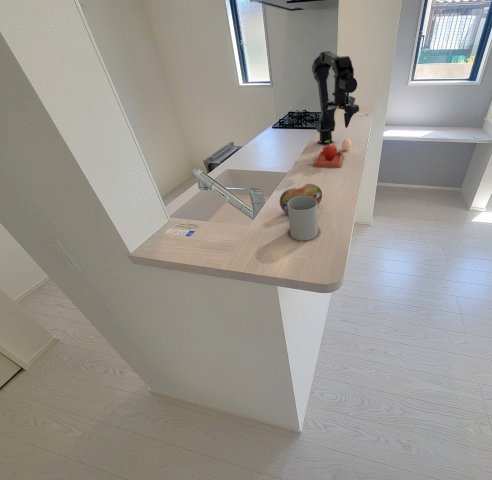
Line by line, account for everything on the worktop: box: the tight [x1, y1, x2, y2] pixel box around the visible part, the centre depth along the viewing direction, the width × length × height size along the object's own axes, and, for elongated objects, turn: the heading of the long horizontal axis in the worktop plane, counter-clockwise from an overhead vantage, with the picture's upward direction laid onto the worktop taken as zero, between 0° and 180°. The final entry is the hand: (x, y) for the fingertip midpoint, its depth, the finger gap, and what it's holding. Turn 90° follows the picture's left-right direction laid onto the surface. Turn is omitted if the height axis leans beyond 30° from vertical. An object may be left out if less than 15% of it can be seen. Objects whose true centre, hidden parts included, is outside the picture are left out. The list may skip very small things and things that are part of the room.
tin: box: [279, 183, 323, 215], centre depth 89 cm, size 15×3×8 cm, turn 117°
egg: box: [341, 138, 352, 152], centre depth 138 cm, size 5×5×6 cm
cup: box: [287, 196, 319, 242], centre depth 78 cm, size 8×8×10 cm
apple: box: [322, 140, 338, 160], centre depth 125 cm, size 8×7×10 cm
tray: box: [313, 150, 344, 168], centre depth 128 cm, size 15×12×2 cm
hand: (339, 126), depth 131 cm, fingers open, 9 cm apart
